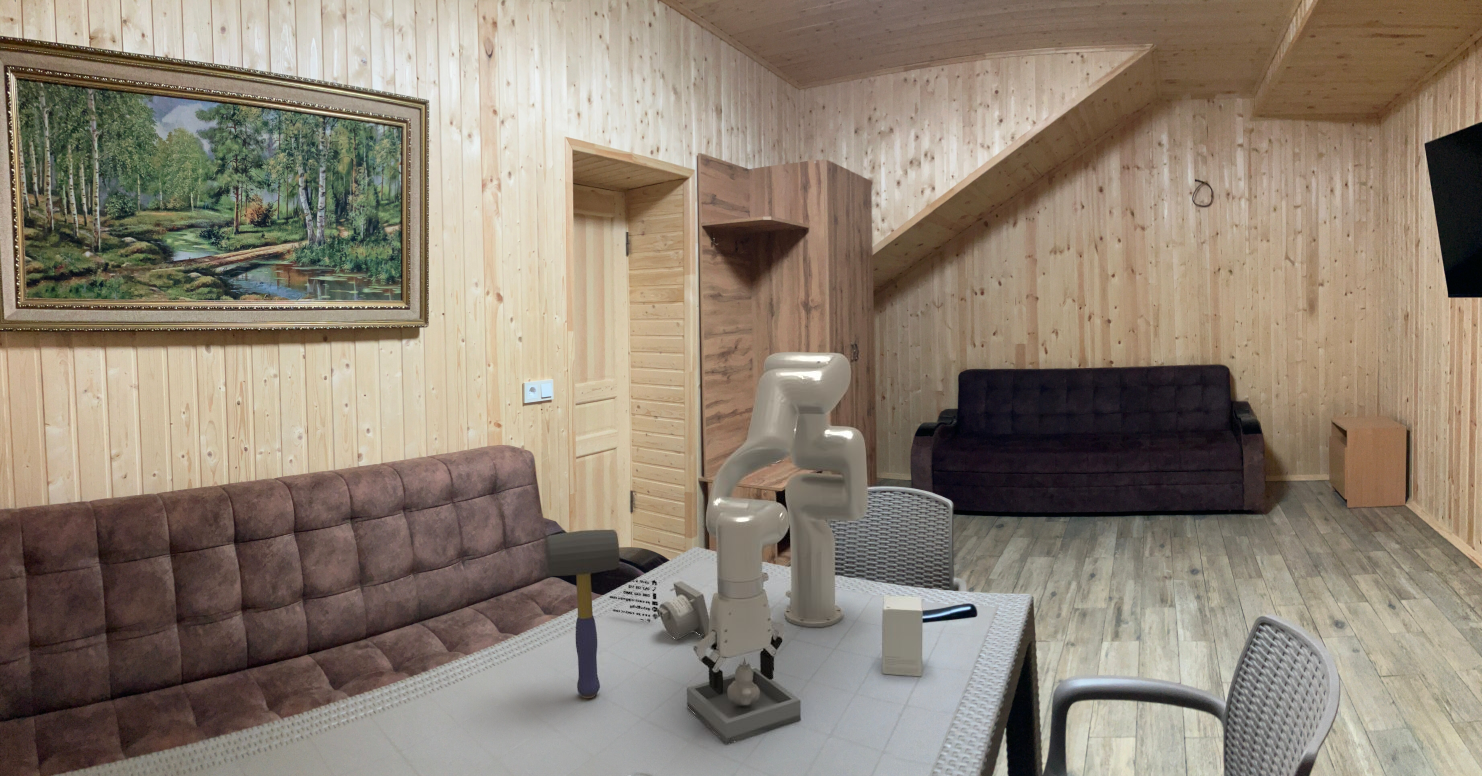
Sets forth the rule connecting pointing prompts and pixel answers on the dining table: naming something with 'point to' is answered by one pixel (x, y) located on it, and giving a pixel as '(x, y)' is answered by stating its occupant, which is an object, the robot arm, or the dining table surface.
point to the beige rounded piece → (743, 686)
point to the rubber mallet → (584, 589)
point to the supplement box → (902, 635)
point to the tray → (744, 708)
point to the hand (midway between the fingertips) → (742, 683)
